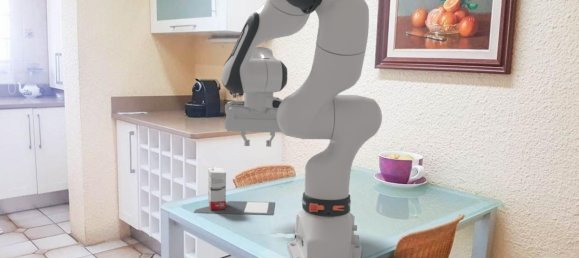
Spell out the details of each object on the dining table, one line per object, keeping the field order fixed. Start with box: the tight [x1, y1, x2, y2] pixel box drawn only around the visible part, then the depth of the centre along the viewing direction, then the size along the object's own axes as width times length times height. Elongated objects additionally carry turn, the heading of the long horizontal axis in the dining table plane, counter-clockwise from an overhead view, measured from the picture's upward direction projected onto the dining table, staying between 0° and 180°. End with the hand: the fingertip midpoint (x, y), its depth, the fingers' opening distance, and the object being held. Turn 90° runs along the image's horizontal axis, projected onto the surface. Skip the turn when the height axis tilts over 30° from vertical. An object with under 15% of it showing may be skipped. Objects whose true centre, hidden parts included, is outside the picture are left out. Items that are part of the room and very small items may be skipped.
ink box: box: [207, 166, 227, 210], centre depth 145 cm, size 9×5×12 cm, turn 15°
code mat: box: [193, 200, 276, 216], centre depth 145 cm, size 13×24×1 cm, turn 89°
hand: (257, 146), depth 143 cm, fingers open, 5 cm apart
